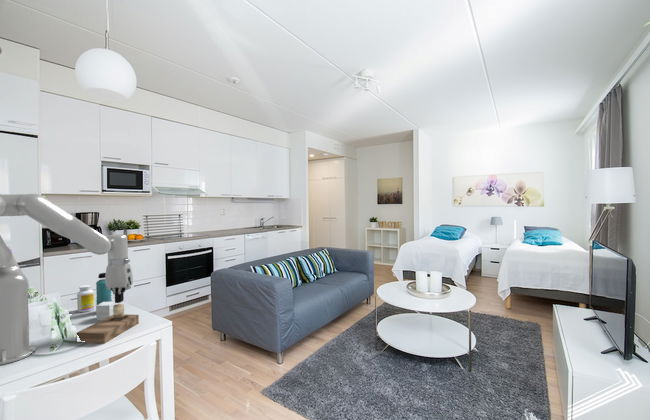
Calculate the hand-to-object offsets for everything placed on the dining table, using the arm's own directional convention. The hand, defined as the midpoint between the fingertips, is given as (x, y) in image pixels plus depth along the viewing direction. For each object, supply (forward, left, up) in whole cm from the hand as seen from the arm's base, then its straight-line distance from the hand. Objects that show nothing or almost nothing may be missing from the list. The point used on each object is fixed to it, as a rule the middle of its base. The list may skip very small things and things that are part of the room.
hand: (119, 301), depth 136 cm
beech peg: (0, 0, -11) cm, 11 cm away
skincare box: (+9, +14, -12) cm, 21 cm away
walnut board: (-6, 0, -11) cm, 13 cm away
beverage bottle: (+17, +22, -12) cm, 30 cm away
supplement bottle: (+18, +33, -12) cm, 40 cm away
